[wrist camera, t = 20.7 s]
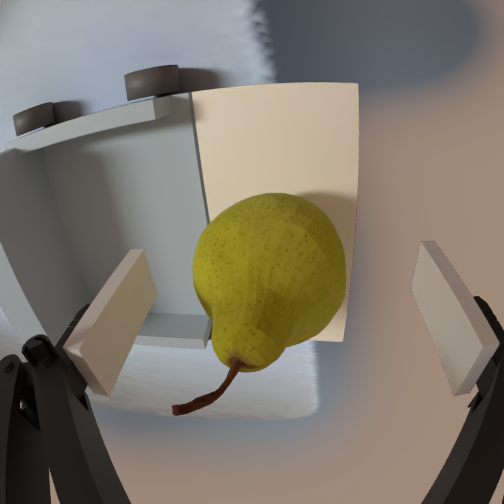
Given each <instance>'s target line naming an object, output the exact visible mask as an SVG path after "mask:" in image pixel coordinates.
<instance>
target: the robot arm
mask: <svg viewBox="0 0 504 504" xmlns="http://www.w3.org/2000/svg"><path fill="white" fill-rule="evenodd" d="M410 289H411V292H412V294H413V296H414V298H415V300H416V302H417V305H418V307H419V309H420V311H421V313H422V316H423V318H424V320H425V322H426V325H427V327H428V330H429V332H430V335H431V337H432V340H433V342H434V345H435V347H436V349H437V352H438V355H439V357H440V360H441V363H442V365H443V368H444V371H445V373H446V376H447V379H448V382H449V384H450V388H451V390H452V393H453V396H458V395H463V394H467V393H470V391H471V390H472V388H473V387H474V385H475V384H476V385H477V387H478V390H479V391H478V393H477V394H476V396H475V397H474V398H473V400H472V401H471V403H470V404H469V405H468V407H469V408H470V407H471V408H470V411H469V413H468V416H467V418H466V421H465V423H464V425H463V428H462V430H461V432H460V434H459V436H458V438H457V441H456V443H455V445H454V447H453V449H452V451H451V453H450V455H449V457H448V458H447V460H446V462H445V464H444V466H443V468H442V470H441V471H440V473H439V475H438V477H437V479H436V480H435V482H434V484H433V486H432V487H431V489H430V490H429V492H428V494H427V495H426V497H425V498H424V500H423V502H422V503H421V504H489V502H490V500H491V498H492V495H493V493H494V491H495V489H496V486H497V484H498V482H499V479H500V476H501V474H502V471H503V469H504V330H503V328H502V327H501V325H500V323H499V321H497V318H496V316H495V315H494V314H493V312H492V310H491V308H490V307H489V305H488V304H487V303H486V302H485V301H484V300H483V299H481V298H480V297H479V296H475V297H472V295H471V293H470V292H469V290H468V289H467V287H466V286H465V284H464V283H463V281H462V280H461V278H460V277H459V275H458V274H457V272H456V271H455V269H454V268H453V266H452V265H451V263H450V262H449V261H448V259H447V258H446V257H445V255H444V253H443V252H442V251H441V249H440V248H439V247H438V245H437V244H436V243H435V241H421V242H420V247H419V252H418V257H417V262H416V266H415V271H414V276H413V280H412V284H411V288H410ZM157 294H158V293H157V290H156V287H155V284H154V281H153V277H152V274H151V271H150V267H149V264H148V261H147V257H146V254H145V250H144V249H131V250H130V251H129V252H128V254H127V255H126V256H125V258H124V259H123V260H122V262H121V263H120V264H119V266H118V267H117V268H116V270H115V271H114V272H113V274H112V275H111V276H110V278H109V279H108V281H107V282H106V283H105V285H104V286H103V288H102V289H101V290H100V292H99V293H98V295H97V296H96V298H95V299H94V300H93V302H92V303H91V304H87V305H85V306H84V307H83V308H82V309H80V310H79V311H78V313H77V314H76V316H75V317H74V319H73V321H71V323H70V324H69V327H67V329H66V330H65V332H64V333H63V335H62V336H61V338H60V339H59V341H58V342H57V344H56V346H55V347H54V346H53V344H52V343H51V341H50V339H49V338H48V336H46V335H44V334H38V335H35V336H33V337H31V338H30V339H28V340H27V341H26V342H25V344H24V346H23V347H22V354H23V355H24V356H25V358H26V359H27V361H28V362H25V363H22V362H21V360H20V359H19V357H18V356H17V355H15V354H11V355H8V356H6V357H4V358H3V359H2V360H1V361H0V504H51V496H50V484H49V483H50V482H49V469H50V472H51V476H52V479H53V483H54V486H55V490H56V493H57V496H58V499H59V502H60V504H131V502H130V500H129V498H128V496H127V494H126V492H125V490H124V488H123V486H122V484H121V482H120V480H119V477H118V475H117V473H116V471H115V469H114V466H113V464H112V461H111V459H110V457H109V454H108V452H107V449H106V447H105V445H104V442H103V439H102V436H101V434H100V431H99V428H98V425H97V423H96V420H95V417H94V414H93V411H92V408H91V405H90V401H89V398H88V396H87V394H86V392H85V389H86V387H87V385H88V386H89V387H90V389H91V390H92V391H93V393H95V394H99V395H104V396H110V394H111V391H112V389H113V387H114V384H115V382H116V380H117V378H118V376H119V373H120V371H121V369H122V367H123V365H124V362H125V360H126V358H127V356H128V354H129V352H130V350H131V347H132V345H133V343H134V341H135V339H136V337H137V335H138V333H139V331H140V329H141V327H142V325H143V322H144V320H145V318H146V316H147V314H148V312H149V310H150V308H151V306H152V304H153V302H154V300H155V298H156V296H157ZM20 402H21V403H22V408H21V409H20ZM471 405H472V406H471ZM502 504H504V496H503V500H502Z"/></svg>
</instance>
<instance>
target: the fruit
mask: <svg viewBox="0 0 504 504" xmlns="http://www.w3.org/2000/svg"><path fill="white" fill-rule="evenodd" d="M192 271H193V283H194V288H195V291H196V294H197V297H198V299H199V301H200V303H201V305H202V307H203V308H204V310H205V312H206V313H207V315H208V316H209V317H210V319H211V320H212V321H213V326H212V338H211V340H212V345H213V349H214V351H215V353H216V355H217V357H218V358H219V360H220V361H221V362H222V363H223V364H224V365H226V366H228V367H229V368H230V370H229V372H228V375H227V378H226V379H225V381H224V382H223V384H222V385H221V386H220V387H219V388H218V389H217V390H216V391H214V392H211V393H209V394H206V395H203V396H201V397H198V398H195V399H194V400H193V401H191V402H189V403H186V404H181V405H173V406H172V409H173V412H172V413H173V414H174V415H175V416H178V415H184V414H187V413H190V412H193V411H195V410H198V409H201V408H203V407H205V406H207V405H210V404H212V403H213V402H214V401H215V400H217V399H218V398H219V397H220V396H221V395H222V394H223V393H224V391H225V390H226V389H227V388H228V386H229V385H230V383H231V382H232V380H233V379H234V378H235V376H236V375H237V373H238V372H255V371H259V370H262V369H264V368H266V367H267V366H269V365H270V364H272V363H273V362H274V361H276V360H277V359H278V358H279V357H280V355H281V354H282V353H283V351H284V350H285V348H286V347H289V346H293V345H296V344H299V343H302V342H304V341H306V340H308V339H310V338H312V337H314V336H316V335H318V334H319V333H320V332H321V331H322V330H323V329H324V328H326V327H327V326H328V324H329V323H330V321H331V320H332V319H333V317H334V316H335V314H336V313H337V311H338V310H339V308H340V307H341V305H342V302H343V300H344V297H345V292H346V264H345V254H344V249H343V245H342V242H341V240H340V238H339V236H338V234H337V231H336V229H335V227H334V225H333V224H332V222H331V221H330V219H329V218H328V217H327V215H326V214H325V213H324V212H323V211H322V210H321V209H319V208H318V207H317V206H316V205H315V204H313V203H311V202H309V201H307V200H305V199H303V198H301V197H299V196H295V195H291V194H286V193H264V194H260V195H255V196H252V197H249V198H247V199H244V200H242V201H239V202H237V203H235V204H234V205H232V206H230V207H229V208H227V209H225V210H224V211H223V212H221V213H220V214H219V215H218V216H217V217H216V218H214V219H213V220H212V221H211V222H210V223H209V225H208V226H207V227H206V228H205V229H204V230H203V232H202V234H201V236H200V238H199V241H198V244H197V247H196V250H195V255H194V259H193V266H192Z"/></svg>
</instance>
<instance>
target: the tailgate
mask: <svg viewBox="0 0 504 504" xmlns="http://www.w3.org/2000/svg"><path fill="white" fill-rule="evenodd" d="M192 99H193V107H194V114H195V122H196V130H197V137H198V144H199V152H200V159H201V166H202V173H203V179H204V186H205V193H206V199H207V206H208V212H209V218H210V222H211V221H212V220H213V219H214V218H216V217H217V216H218V215H219V214H220V213H221V212H223V211H224V210H225V209H227V208H229V207H230V206H232V205H234V204H235V203H237V202H239V201H242V200H244V199H247V198H249V197H252V196H255V195H260V194H264V193H286V194H291V195H295V196H299V197H301V198H303V199H305V200H307V201H309V202H311V203H313V204H315V205H316V206H317V207H318V208H319V209H321V210H322V211H323V212H324V213H325V214H326V215H327V217H328V218H329V219H330V221H331V222H332V224H333V225H334V227H335V229H336V231H337V234H338V236H339V238H340V240H341V242H342V245H343V249H344V254H345V264H346V292H345V297H344V300H343V302H342V305H341V307H340V308H339V310H338V311H337V313H336V314H335V316H334V317H333V319H332V320H331V321H330V323H329V324H328V326H327V327H326V328H324V329H323V330H322V331H321V332H320V333H319V334H318V335H316V336H314V337H312V338H310V339H308V340H320V341H338V342H342V341H343V336H344V329H345V322H346V315H347V308H348V300H349V292H350V283H351V274H352V265H353V254H354V242H355V228H356V215H357V196H358V170H359V101H358V100H359V99H358V84H357V83H327V82H325V83H324V82H323V83H321V82H320V83H319V82H316V83H315V82H313V83H312V82H311V83H277V84H260V85H247V86H236V87H226V88H218V89H210V90H202V91H196V92H192Z"/></svg>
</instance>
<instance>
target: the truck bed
mask: <svg viewBox="0 0 504 504" xmlns="http://www.w3.org/2000/svg"><path fill="white" fill-rule="evenodd" d="M124 78H125V85H126V92H127V99H128V101H130V100H134V99H139V98H144V97H148V96H153V95H158V94H163V93H169V92H174V91H180V90H181V88H180V80H179V71H178V65H166V66H159V67H153V68H148V69H143V70H139V71H135V72H132V73H129V74H126V75H124ZM200 91H202V90H200ZM193 92H196V91H193ZM13 120H14V125H15V130H16V135H17V136H19V135H22V134H24V133H27V132H30V131H32V130H35V129H37V128H40V127H43V126H46V125H48V124H51V123H54V122H55V118H54V113H53V107H52V102H48V103H44V104H41V105H38V106H35V107H32V108H29V109H27V110H24V111H22V112H20V113H17V114H15V115H14V116H13ZM5 148H6V151H4V152H2V153H0V306H1V308H2V310H3V312H4V313H5V315H6V317H7V319H8V320H9V322H10V324H11V325H12V327H13V329H14V330H15V332H16V333H17V335H18V337H19V338H20V340H21V341H22V343H23V344H25V342H26V341H27V340H28V339H30V338H31V337H33V336H35V335H38V334H44V335H46V336H48V338H49V339H50V341H51V343H52V344H53V346H54V347H55V346H56V344H57V342H58V341H59V339H60V338H61V336H62V335H63V333H64V332H65V330H66V329H67V327H69V324H70V323H71V321H73V319H74V317H75V316H76V314H77V313H78V311H79V310H80V309H82V308H83V307H84V306H85V305H87V304H91V303H92V302H93V300H94V299H95V298H96V296H97V295H98V293H99V292H100V290H101V289H102V288H103V286H104V285H105V283H106V282H107V281H108V279H109V278H110V276H111V275H112V274H113V272H114V271H115V270H116V268H117V267H118V266H119V264H120V263H121V262H122V260H123V259H124V258H125V256H126V255H127V254H128V252H129V251H130V250H131V249H144V250H145V254H146V257H147V261H148V264H149V267H150V271H151V274H152V277H153V281H154V284H155V287H156V290H157V293H158V294H157V296H156V298H155V300H154V302H153V304H152V306H151V308H150V310H149V312H148V314H147V316H146V318H145V320H144V322H143V325H142V327H141V329H140V331H139V333H138V335H137V337H136V339H135V341H134V343H133V344H138V345H149V346H161V347H175V348H191V349H206V346H207V342H208V340H210V339H211V338H212V326H213V321H212V320H211V319H210V317H209V316H208V315H207V313H206V312H205V310H204V308H203V307H202V305H201V303H200V301H199V299H198V297H197V294H196V291H195V288H194V283H193V271H192V266H193V259H194V255H195V250H196V247H197V244H198V241H199V238H200V236H201V234H202V232H203V230H204V229H205V228H206V227H207V226H208V225H209V223H210V218H209V212H208V206H207V199H206V193H205V186H204V179H203V173H202V166H201V159H200V152H199V144H198V137H197V130H196V122H195V114H194V107H193V99H192V92H187V93H180V94H175V95H169V96H163V97H158V98H153V99H148V100H143V101H139V102H134V103H130V104H126V105H122V106H117V107H113V108H110V109H106V110H102V111H98V112H95V113H91V114H88V115H84V116H81V117H78V118H74V119H71V120H68V121H65V122H62V123H59V124H56V125H53V126H50V127H47V128H44V129H42V130H39V131H36V132H33V133H31V134H28V135H26V136H23V137H21V138H18V139H16V140H14V141H11V142H9V143H7V144H5Z"/></svg>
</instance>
